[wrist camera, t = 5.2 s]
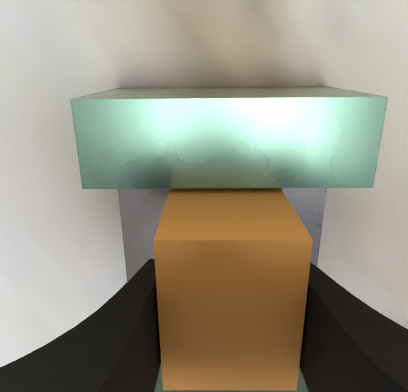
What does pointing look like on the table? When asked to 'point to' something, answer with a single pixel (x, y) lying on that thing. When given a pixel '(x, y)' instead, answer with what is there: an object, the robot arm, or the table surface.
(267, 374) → the orange cube
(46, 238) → the table surface
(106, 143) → the base
